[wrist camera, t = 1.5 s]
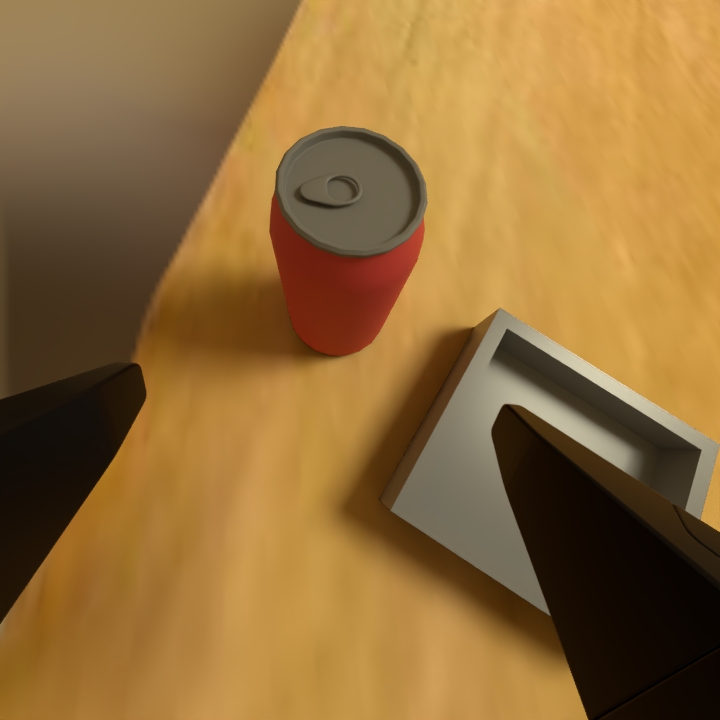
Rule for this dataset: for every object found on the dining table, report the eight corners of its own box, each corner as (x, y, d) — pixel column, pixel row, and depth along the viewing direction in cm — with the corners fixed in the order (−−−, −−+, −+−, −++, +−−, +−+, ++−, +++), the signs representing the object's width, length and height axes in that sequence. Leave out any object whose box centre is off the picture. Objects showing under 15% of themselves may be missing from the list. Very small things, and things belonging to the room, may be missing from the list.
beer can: (284, 276, 23) (250, 115, 12) (373, 268, 24) (420, 111, 13) (296, 364, 22) (269, 276, 10) (390, 351, 23) (460, 258, 11)
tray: (599, 645, 20) (657, 686, 16) (378, 499, 20) (390, 510, 17) (662, 444, 24) (719, 444, 20) (474, 326, 24) (500, 307, 21)
